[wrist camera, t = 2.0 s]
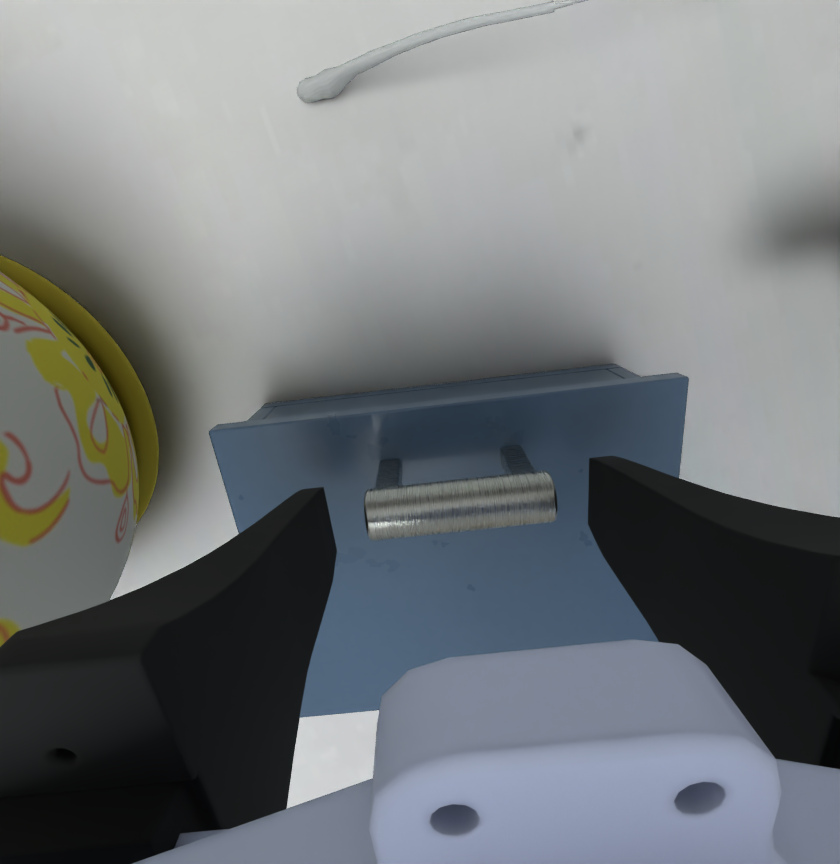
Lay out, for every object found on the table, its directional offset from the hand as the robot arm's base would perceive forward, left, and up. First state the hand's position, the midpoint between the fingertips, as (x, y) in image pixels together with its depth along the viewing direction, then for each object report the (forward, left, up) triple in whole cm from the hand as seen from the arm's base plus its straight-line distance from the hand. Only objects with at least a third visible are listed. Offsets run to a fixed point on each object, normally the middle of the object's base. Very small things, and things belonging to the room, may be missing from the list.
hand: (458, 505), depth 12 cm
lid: (0, +5, -4) cm, 6 cm away
